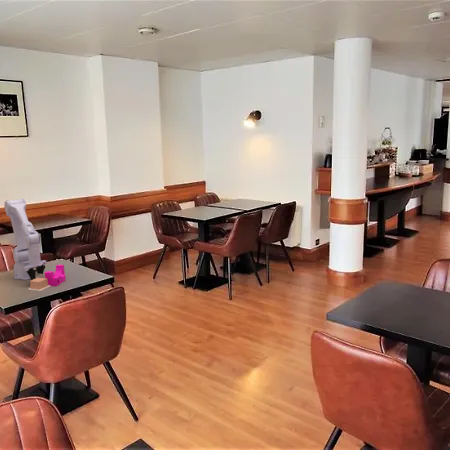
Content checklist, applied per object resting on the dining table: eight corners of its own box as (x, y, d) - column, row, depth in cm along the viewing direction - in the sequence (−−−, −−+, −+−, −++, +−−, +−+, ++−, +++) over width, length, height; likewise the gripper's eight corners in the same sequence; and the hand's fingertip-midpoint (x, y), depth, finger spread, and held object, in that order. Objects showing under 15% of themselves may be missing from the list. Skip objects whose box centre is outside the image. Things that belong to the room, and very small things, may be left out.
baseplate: (27, 289, 235) (27, 288, 235) (39, 285, 242) (38, 284, 242) (40, 291, 232) (40, 290, 232) (51, 286, 239) (51, 285, 239)
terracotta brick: (30, 288, 235) (29, 280, 234) (39, 284, 241) (38, 277, 240) (39, 289, 233) (39, 282, 232) (48, 285, 239) (47, 278, 238)
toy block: (57, 286, 240) (55, 272, 239) (45, 286, 241) (44, 272, 239) (69, 277, 255) (68, 264, 253) (58, 277, 255) (57, 264, 254)
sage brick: (30, 283, 245) (29, 275, 244) (36, 281, 249) (36, 273, 248) (37, 284, 243) (36, 276, 243) (43, 281, 248) (42, 273, 247)
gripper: (30, 259, 235) (32, 285, 238) (49, 253, 249) (52, 276, 251) (19, 258, 238) (22, 283, 240) (39, 252, 251) (42, 275, 254)
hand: (36, 280), depth 246 cm, fingers closed on sage brick, 4 cm apart
